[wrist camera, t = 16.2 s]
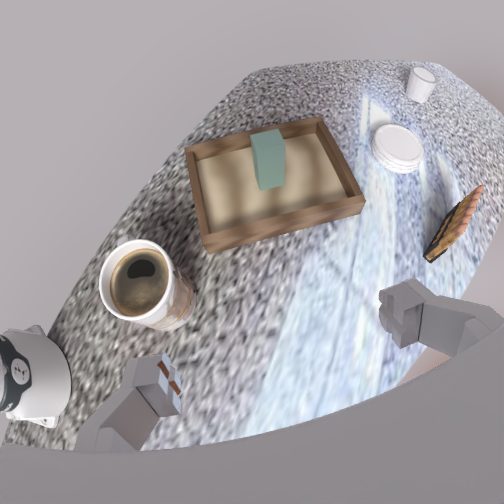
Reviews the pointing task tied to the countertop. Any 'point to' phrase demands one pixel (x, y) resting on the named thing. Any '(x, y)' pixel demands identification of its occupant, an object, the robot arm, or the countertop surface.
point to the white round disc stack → (397, 148)
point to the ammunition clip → (453, 225)
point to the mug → (146, 285)
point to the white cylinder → (420, 84)
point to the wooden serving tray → (275, 199)
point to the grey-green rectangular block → (268, 159)
